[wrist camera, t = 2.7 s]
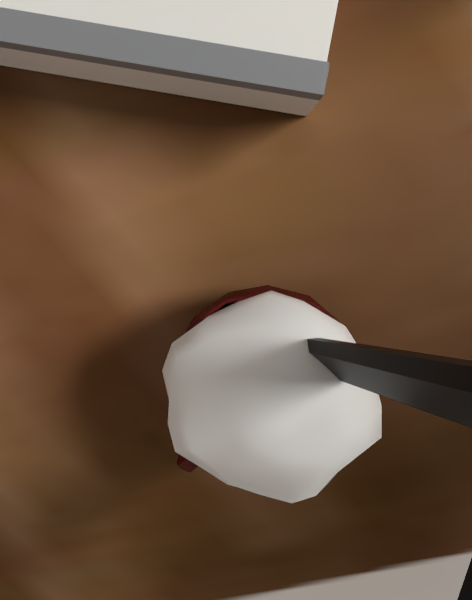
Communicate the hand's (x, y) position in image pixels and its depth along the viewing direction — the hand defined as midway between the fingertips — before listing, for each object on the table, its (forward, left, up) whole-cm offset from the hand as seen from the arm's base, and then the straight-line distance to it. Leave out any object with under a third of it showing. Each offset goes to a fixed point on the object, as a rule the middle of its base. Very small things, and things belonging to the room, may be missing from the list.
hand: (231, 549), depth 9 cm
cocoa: (-1, -1, -10) cm, 10 cm away
